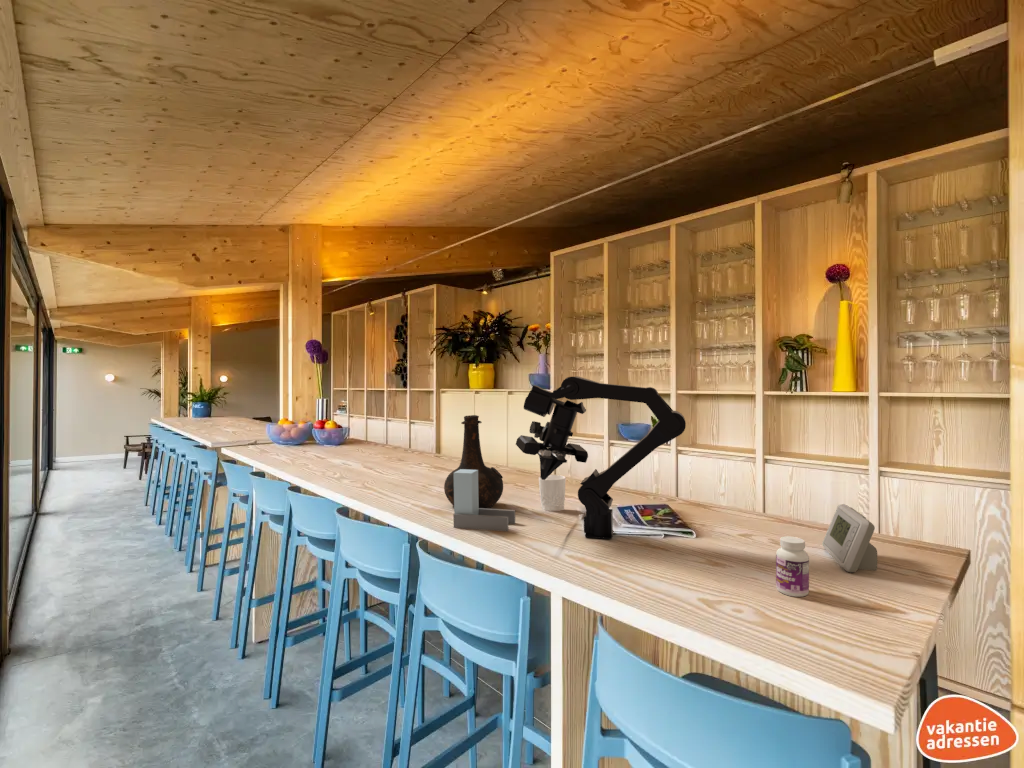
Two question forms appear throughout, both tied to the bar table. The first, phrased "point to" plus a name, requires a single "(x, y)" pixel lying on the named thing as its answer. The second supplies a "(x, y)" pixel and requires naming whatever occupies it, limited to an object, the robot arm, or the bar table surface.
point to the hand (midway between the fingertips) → (542, 479)
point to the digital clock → (851, 540)
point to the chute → (486, 519)
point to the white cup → (552, 492)
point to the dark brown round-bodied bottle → (476, 467)
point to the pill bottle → (792, 567)
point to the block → (466, 492)
